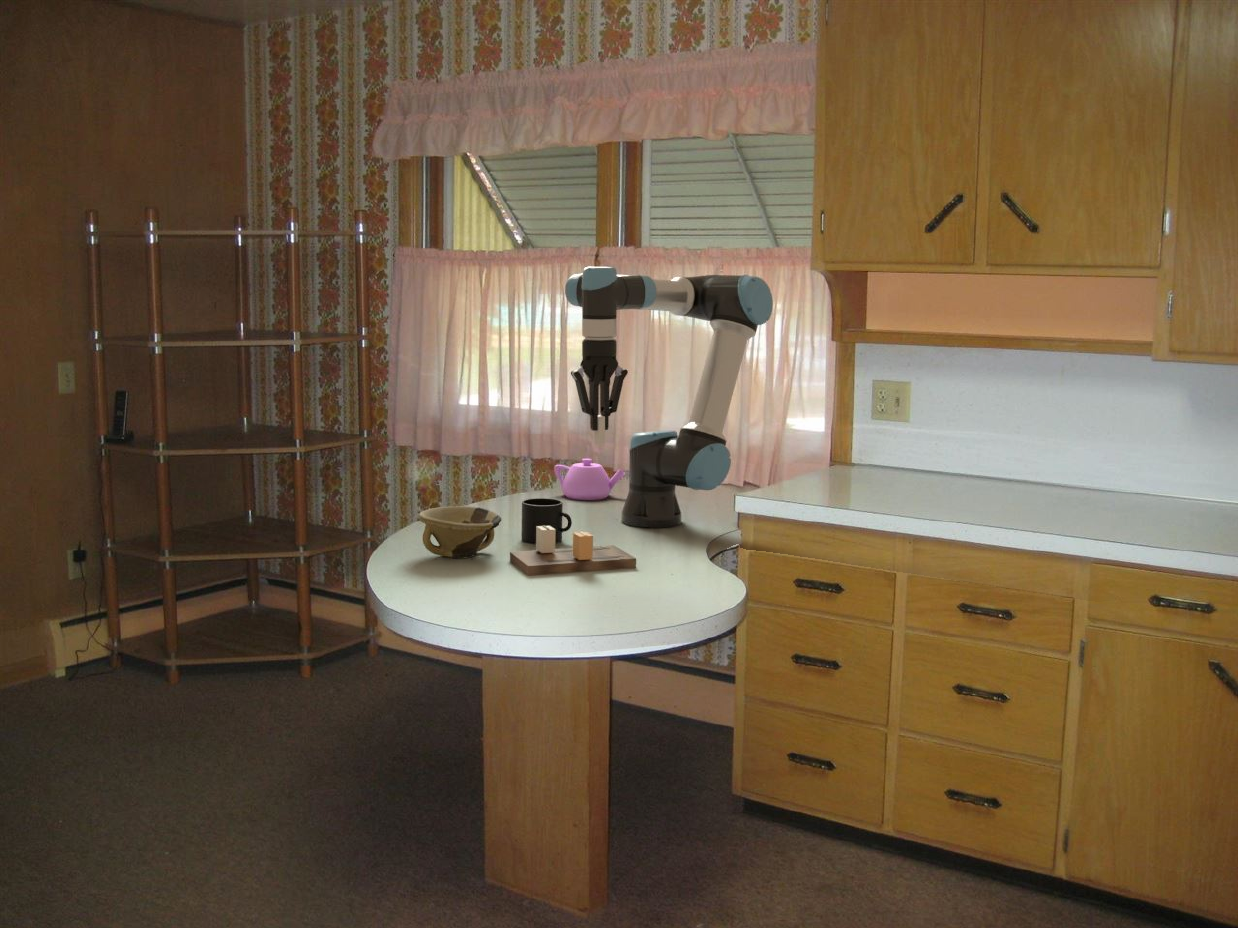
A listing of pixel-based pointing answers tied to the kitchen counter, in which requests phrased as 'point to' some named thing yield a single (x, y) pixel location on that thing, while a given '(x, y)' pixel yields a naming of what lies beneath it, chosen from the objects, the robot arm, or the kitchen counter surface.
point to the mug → (542, 518)
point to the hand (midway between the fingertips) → (599, 444)
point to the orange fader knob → (582, 545)
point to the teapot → (587, 480)
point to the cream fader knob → (545, 539)
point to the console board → (571, 560)
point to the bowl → (458, 530)
